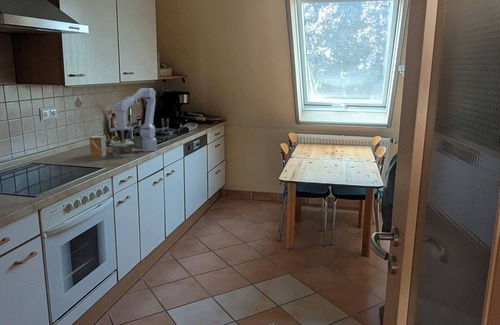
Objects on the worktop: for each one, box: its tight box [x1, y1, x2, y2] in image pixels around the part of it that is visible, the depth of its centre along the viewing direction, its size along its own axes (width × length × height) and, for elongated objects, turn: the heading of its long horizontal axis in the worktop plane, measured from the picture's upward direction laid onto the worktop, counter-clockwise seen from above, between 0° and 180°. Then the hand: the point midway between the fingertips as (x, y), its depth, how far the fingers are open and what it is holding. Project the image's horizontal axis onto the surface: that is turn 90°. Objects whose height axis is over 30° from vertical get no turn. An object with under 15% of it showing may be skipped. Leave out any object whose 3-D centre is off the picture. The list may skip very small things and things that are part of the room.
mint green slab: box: [111, 137, 135, 147], centre depth 273 cm, size 13×8×4 cm, turn 117°
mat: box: [112, 152, 136, 159], centre depth 275 cm, size 14×9×1 cm, turn 114°
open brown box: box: [110, 145, 133, 155], centre depth 284 cm, size 13×11×4 cm
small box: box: [89, 135, 107, 158], centre depth 275 cm, size 8×6×13 cm
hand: (123, 141), depth 273 cm, fingers closed on mint green slab, 2 cm apart
